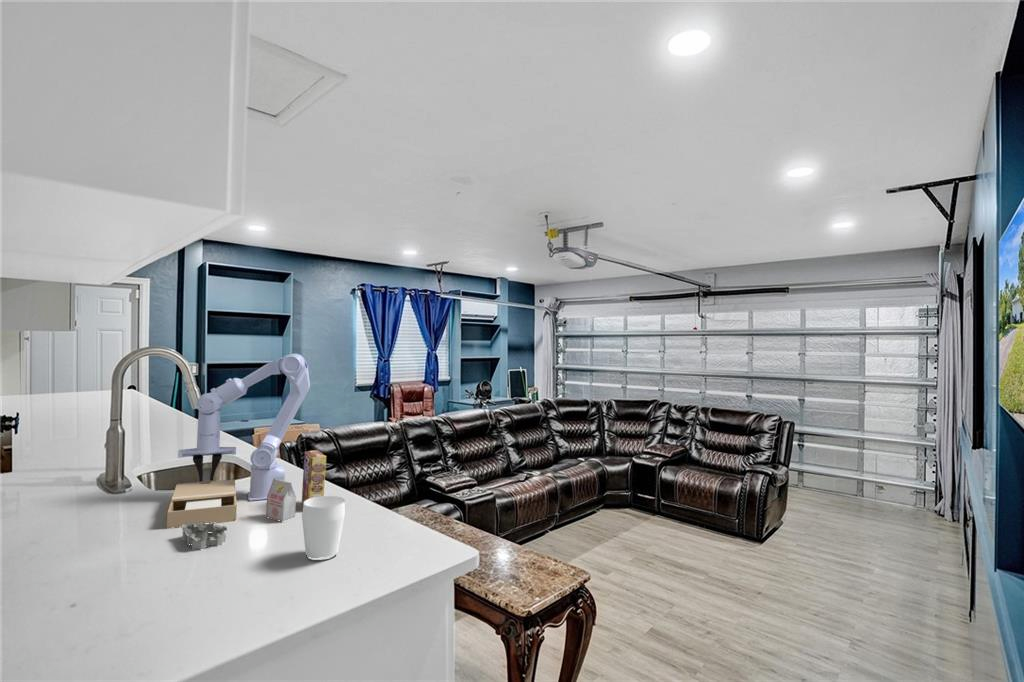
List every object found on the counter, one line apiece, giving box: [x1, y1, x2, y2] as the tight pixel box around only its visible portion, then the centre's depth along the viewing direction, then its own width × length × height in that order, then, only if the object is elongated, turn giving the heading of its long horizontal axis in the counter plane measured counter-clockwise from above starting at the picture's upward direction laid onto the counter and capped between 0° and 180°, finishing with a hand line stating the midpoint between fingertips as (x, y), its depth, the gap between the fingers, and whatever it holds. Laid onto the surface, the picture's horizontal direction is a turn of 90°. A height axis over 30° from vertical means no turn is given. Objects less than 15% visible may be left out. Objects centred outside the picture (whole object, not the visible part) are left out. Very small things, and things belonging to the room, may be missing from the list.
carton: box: [166, 495, 237, 529], centre depth 136 cm, size 15×16×4 cm
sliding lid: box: [170, 467, 237, 503], centre depth 144 cm, size 15×16×4 cm
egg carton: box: [181, 522, 228, 550], centre depth 119 cm, size 11×8×4 cm
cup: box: [301, 495, 346, 558], centre depth 114 cm, size 9×9×12 cm
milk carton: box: [265, 479, 297, 521], centre depth 136 cm, size 4×7×10 cm, turn 61°
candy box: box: [301, 450, 327, 505], centre depth 147 cm, size 9×4×15 cm, turn 35°
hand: (206, 480), depth 149 cm, fingers closed on sliding lid, 2 cm apart
